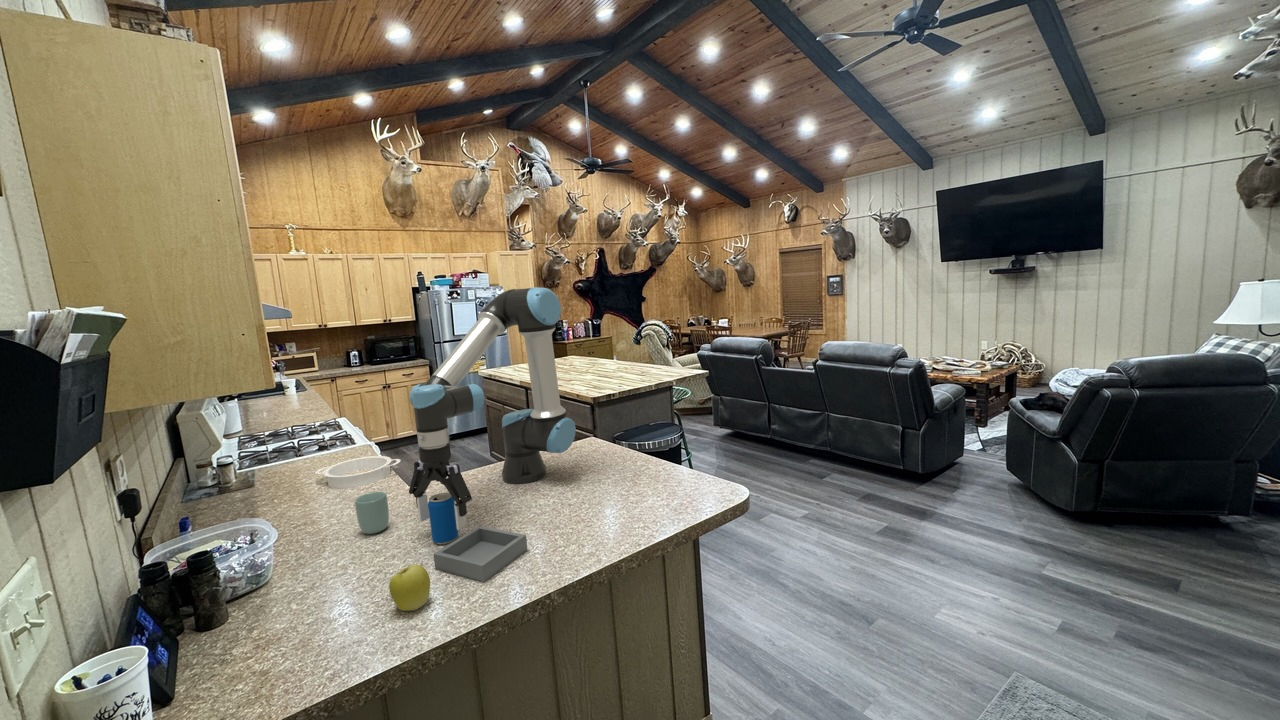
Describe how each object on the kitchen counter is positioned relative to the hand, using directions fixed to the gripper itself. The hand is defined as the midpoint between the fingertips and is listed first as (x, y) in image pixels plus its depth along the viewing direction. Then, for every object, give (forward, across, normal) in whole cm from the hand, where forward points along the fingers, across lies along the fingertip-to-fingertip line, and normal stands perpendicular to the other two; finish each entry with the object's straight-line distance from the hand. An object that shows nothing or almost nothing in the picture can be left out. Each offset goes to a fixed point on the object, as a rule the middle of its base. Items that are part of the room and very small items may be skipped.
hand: (442, 523), depth 137 cm
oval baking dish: (+5, -70, +25) cm, 75 cm away
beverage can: (+5, 0, 0) cm, 5 cm away
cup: (+5, -24, -3) cm, 25 cm away
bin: (+5, +17, -4) cm, 18 cm away
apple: (+5, +16, -24) cm, 29 cm away
